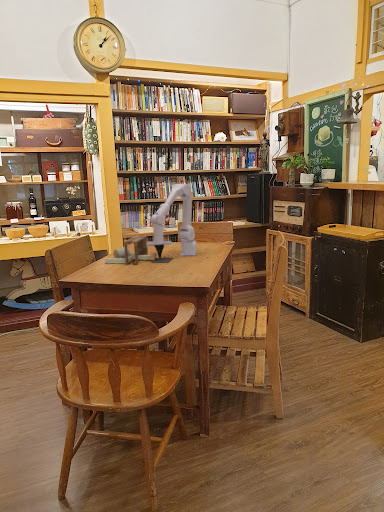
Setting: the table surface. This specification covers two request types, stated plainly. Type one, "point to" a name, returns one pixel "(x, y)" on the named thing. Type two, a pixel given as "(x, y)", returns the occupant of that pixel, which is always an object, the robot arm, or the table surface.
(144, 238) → the arch
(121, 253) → the ceramic mug
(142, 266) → the table surface
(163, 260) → the pit
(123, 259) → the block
